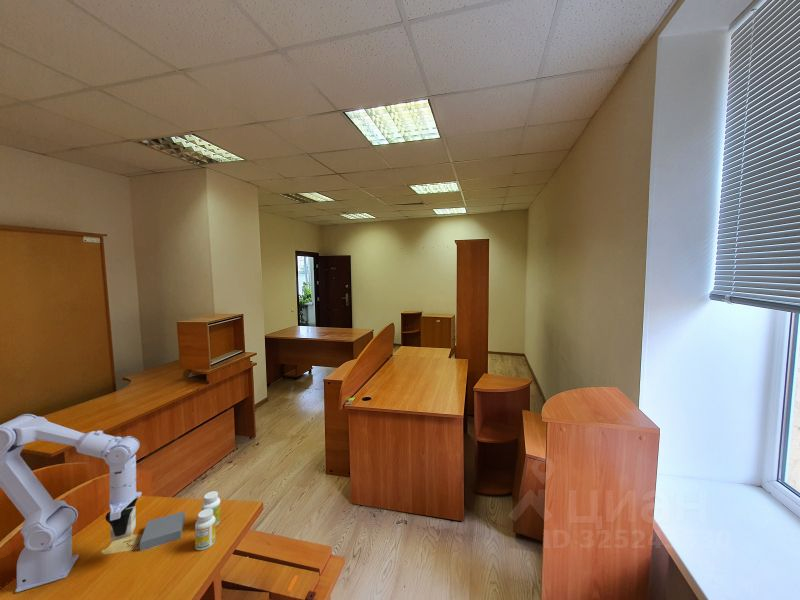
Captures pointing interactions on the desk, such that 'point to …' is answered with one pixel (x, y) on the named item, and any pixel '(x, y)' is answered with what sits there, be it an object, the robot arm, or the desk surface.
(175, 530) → the base block
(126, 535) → the cream block
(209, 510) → the supplement bottle
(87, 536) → the desk surface
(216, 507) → the supplement bottle
